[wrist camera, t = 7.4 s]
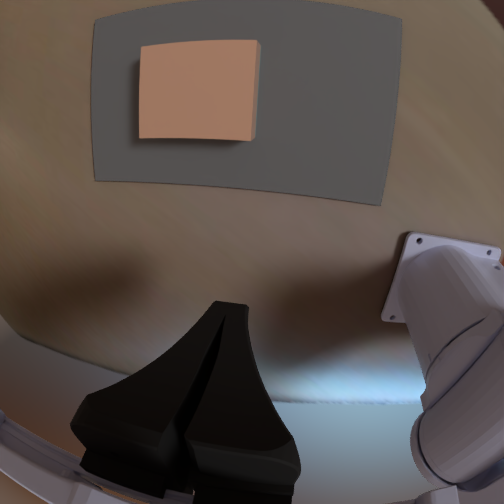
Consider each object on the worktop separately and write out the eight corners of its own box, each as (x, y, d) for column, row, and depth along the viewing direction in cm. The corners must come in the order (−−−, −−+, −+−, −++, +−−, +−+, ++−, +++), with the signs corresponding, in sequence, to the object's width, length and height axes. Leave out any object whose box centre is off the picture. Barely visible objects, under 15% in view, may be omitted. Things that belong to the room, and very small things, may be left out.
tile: (256, 39, 14) (141, 46, 14) (250, 141, 17) (139, 138, 17) (261, 46, 15) (155, 50, 16) (255, 137, 18) (152, 134, 19)
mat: (400, 19, 13) (401, 19, 13) (379, 204, 19) (380, 205, 19) (97, 20, 15) (95, 19, 15) (97, 179, 21) (95, 180, 21)
